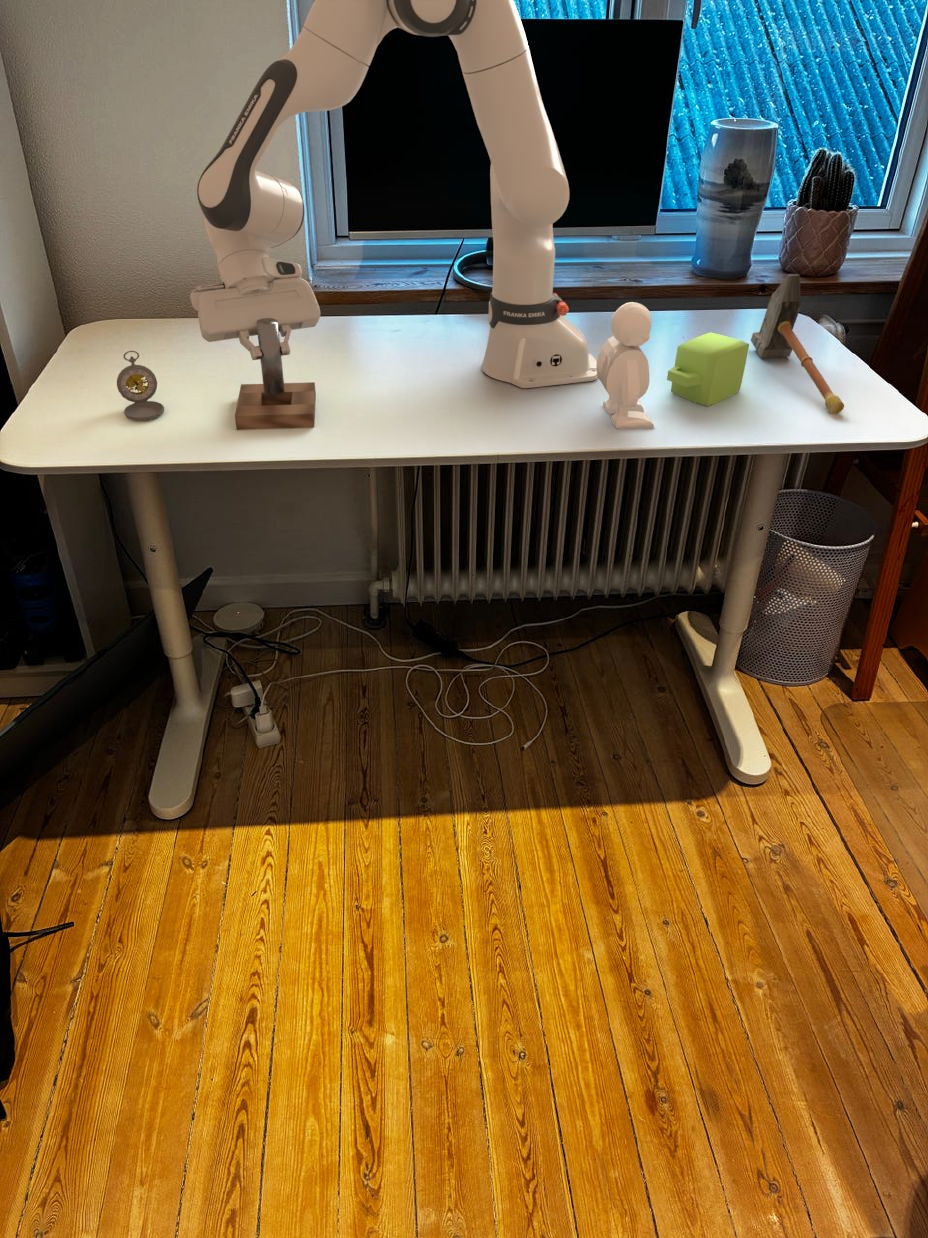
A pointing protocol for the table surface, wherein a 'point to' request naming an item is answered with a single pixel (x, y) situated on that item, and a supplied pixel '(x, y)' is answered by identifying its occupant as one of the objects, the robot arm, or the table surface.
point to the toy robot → (626, 366)
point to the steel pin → (270, 355)
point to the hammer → (790, 336)
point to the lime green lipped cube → (708, 368)
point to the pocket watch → (130, 379)
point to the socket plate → (276, 407)
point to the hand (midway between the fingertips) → (271, 356)
